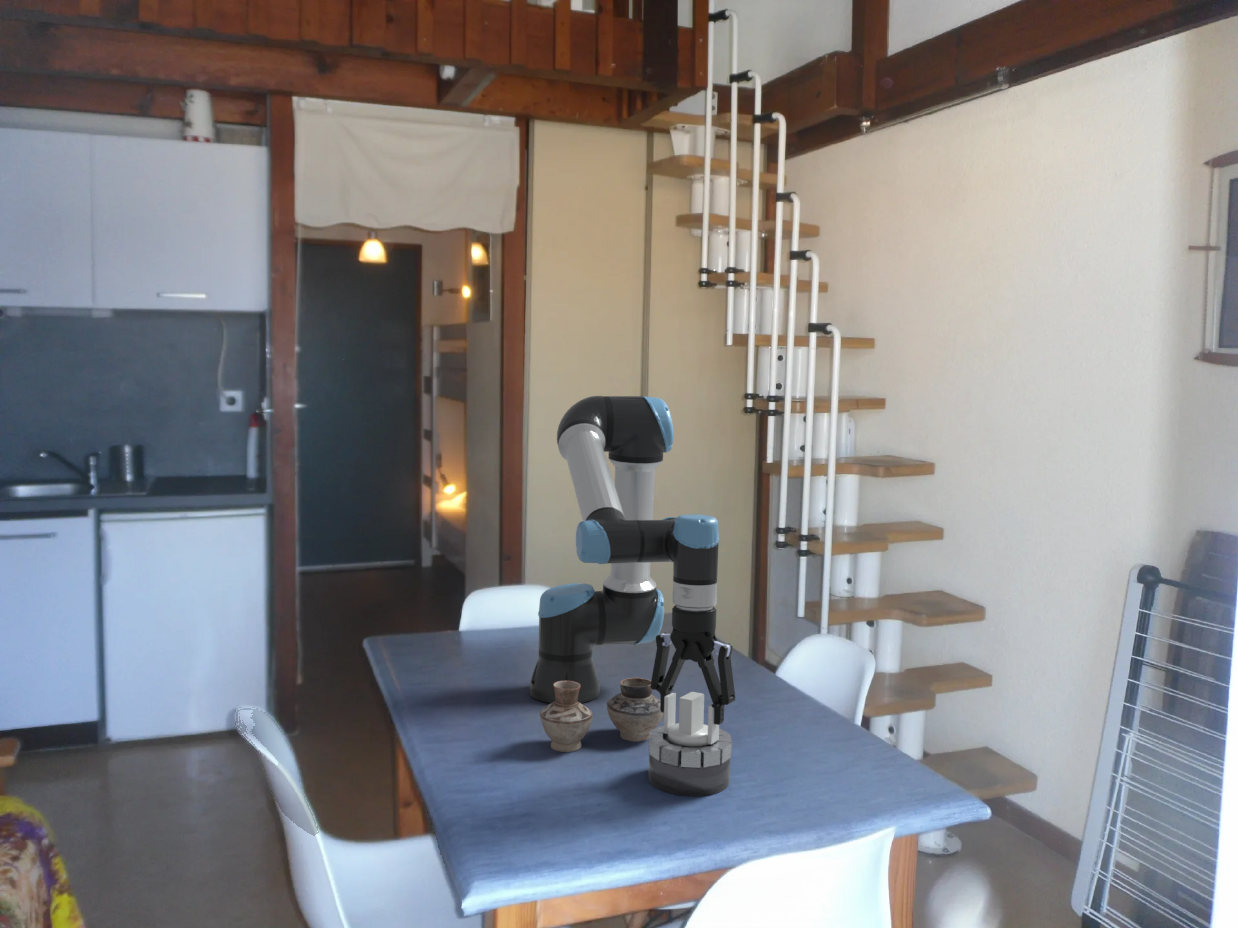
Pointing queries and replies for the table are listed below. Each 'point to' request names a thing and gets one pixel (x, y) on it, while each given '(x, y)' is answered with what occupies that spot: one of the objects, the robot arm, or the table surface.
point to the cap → (690, 722)
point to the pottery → (626, 710)
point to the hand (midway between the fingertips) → (691, 736)
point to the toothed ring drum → (689, 765)
